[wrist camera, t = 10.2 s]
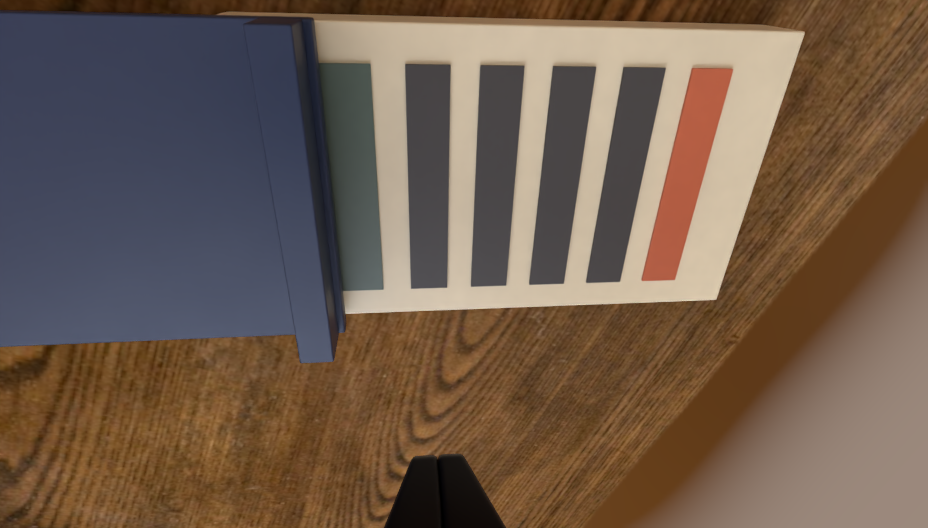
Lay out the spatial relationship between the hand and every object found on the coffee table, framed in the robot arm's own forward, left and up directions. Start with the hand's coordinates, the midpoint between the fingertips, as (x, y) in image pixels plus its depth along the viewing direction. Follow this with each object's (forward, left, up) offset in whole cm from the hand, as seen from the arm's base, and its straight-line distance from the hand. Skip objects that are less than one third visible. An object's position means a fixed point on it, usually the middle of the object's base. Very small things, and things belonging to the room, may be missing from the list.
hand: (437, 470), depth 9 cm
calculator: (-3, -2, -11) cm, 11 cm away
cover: (+11, -2, -8) cm, 13 cm away
